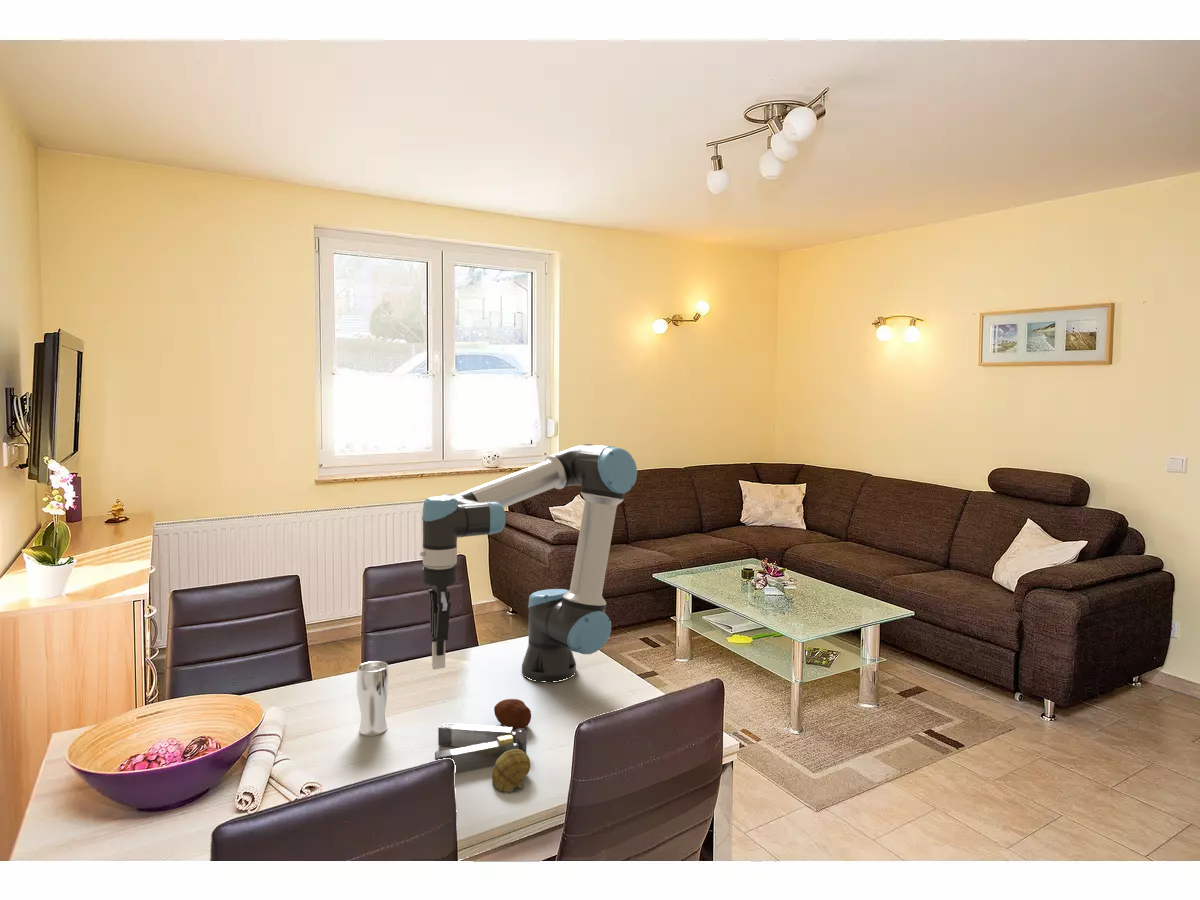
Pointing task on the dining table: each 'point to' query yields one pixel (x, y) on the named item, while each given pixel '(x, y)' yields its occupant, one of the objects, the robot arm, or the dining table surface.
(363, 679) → the beer glass
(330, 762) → the dining table surface
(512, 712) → the potato
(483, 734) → the tong jaw
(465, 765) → the tongs base
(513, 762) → the seashell
